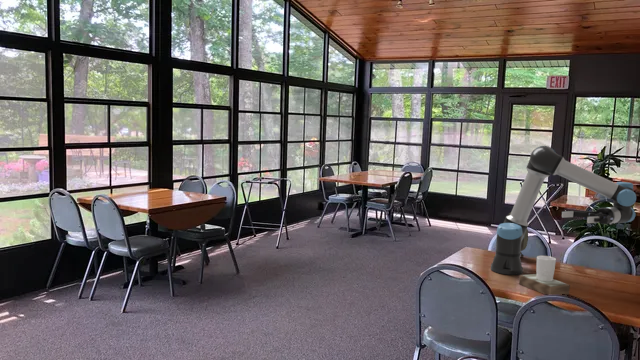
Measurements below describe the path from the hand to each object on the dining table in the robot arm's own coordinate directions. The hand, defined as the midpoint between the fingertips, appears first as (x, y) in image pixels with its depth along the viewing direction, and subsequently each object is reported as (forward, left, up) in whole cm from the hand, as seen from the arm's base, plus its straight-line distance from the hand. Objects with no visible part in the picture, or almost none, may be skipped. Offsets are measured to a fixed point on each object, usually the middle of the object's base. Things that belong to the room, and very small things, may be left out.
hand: (574, 217), depth 235 cm
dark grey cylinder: (-51, +14, -32) cm, 62 cm away
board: (0, -16, -32) cm, 36 cm away
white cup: (0, -16, -28) cm, 32 cm away
